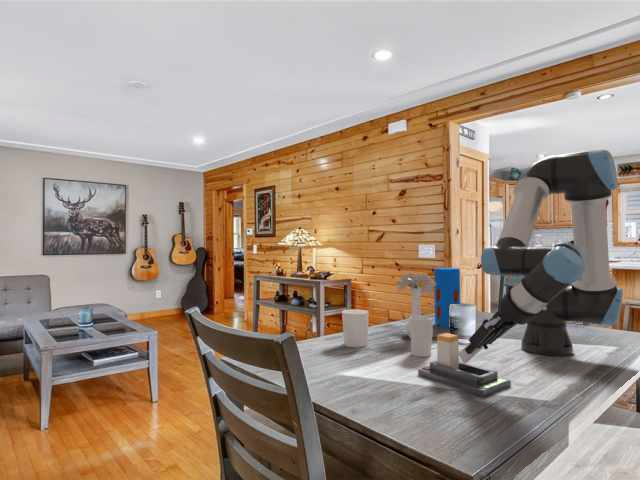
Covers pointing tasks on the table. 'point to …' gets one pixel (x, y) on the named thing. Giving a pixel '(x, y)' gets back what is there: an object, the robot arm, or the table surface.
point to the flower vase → (415, 293)
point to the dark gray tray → (466, 378)
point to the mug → (421, 336)
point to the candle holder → (355, 327)
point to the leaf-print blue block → (445, 293)
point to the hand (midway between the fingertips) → (462, 357)
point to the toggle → (448, 350)
